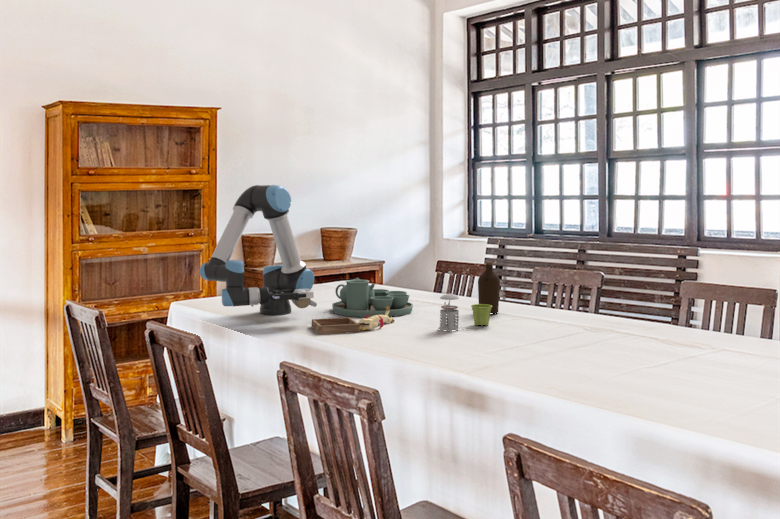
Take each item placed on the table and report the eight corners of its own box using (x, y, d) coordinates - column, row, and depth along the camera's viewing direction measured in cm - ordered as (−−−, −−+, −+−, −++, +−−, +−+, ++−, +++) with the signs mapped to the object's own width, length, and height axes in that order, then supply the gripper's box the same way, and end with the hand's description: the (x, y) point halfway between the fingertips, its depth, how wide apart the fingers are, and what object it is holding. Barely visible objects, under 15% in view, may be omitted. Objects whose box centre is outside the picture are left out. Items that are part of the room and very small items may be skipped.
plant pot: (466, 325, 302) (466, 305, 302) (478, 322, 309) (479, 303, 309) (483, 327, 296) (484, 308, 295) (496, 325, 303) (496, 305, 302)
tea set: (414, 318, 320) (415, 283, 319) (328, 318, 320) (328, 283, 318) (411, 305, 360) (411, 274, 358) (334, 305, 359) (334, 273, 358)
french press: (463, 328, 295) (463, 270, 293) (456, 333, 285) (457, 273, 282) (441, 326, 299) (441, 269, 296) (433, 331, 288) (434, 272, 286)
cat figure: (378, 324, 312) (351, 328, 289) (379, 305, 312) (352, 308, 289) (398, 326, 307) (372, 331, 285) (399, 306, 307) (373, 310, 285)
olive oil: (502, 314, 330) (503, 262, 328) (481, 315, 328) (481, 263, 326) (495, 311, 340) (496, 260, 338) (474, 311, 339) (475, 261, 337)
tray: (311, 326, 297) (311, 319, 296) (349, 324, 302) (349, 317, 301) (319, 334, 280) (319, 326, 280) (359, 332, 286) (359, 324, 285)
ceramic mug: (294, 309, 295) (294, 291, 294) (291, 306, 303) (291, 288, 302) (319, 308, 298) (319, 290, 298) (314, 305, 306) (314, 288, 305)
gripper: (256, 300, 304) (307, 298, 311) (262, 308, 284) (316, 305, 291) (255, 284, 303) (306, 281, 310) (261, 290, 284) (316, 288, 290)
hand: (311, 293), depth 301 cm, fingers closed on ceramic mug, 8 cm apart
